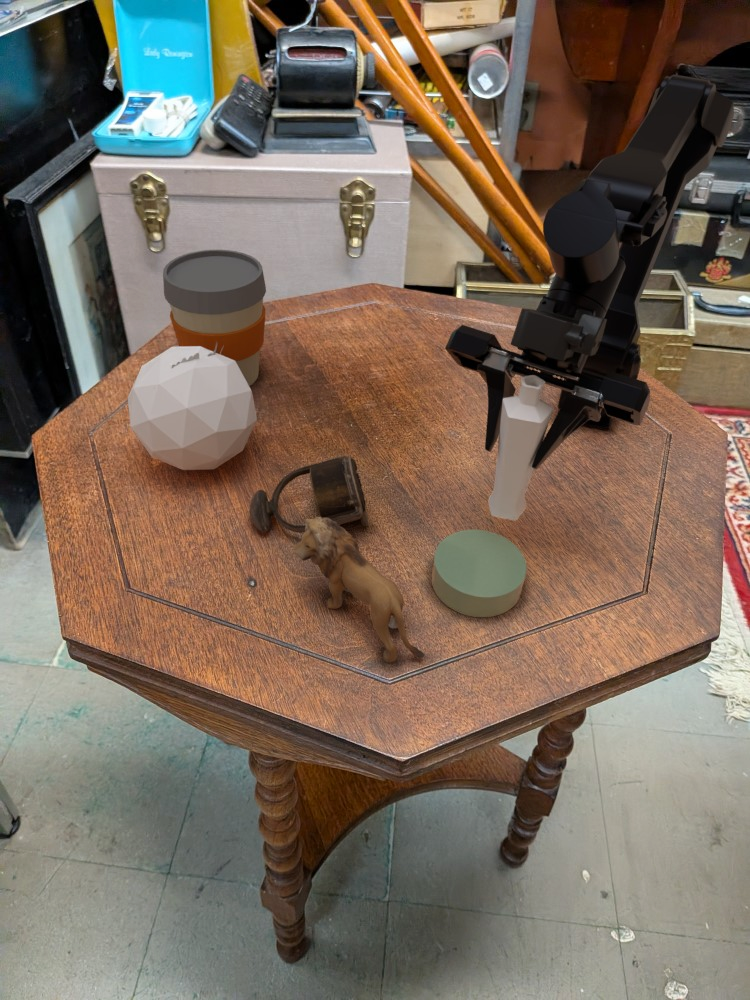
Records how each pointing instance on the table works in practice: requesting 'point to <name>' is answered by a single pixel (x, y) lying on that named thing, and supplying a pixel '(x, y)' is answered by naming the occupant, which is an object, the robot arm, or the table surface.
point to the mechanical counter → (318, 495)
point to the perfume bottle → (518, 447)
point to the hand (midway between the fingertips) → (510, 459)
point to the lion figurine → (355, 579)
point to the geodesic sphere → (192, 408)
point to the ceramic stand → (478, 573)
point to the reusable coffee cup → (218, 304)
